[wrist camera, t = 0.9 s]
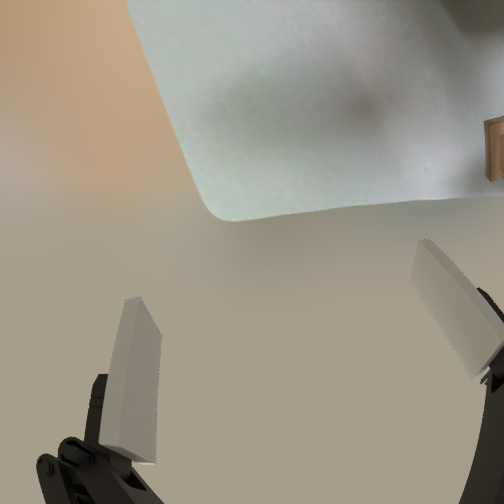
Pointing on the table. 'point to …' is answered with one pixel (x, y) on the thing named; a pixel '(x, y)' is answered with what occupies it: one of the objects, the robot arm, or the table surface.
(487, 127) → the walnut stand
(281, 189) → the table surface
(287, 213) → the table surface
